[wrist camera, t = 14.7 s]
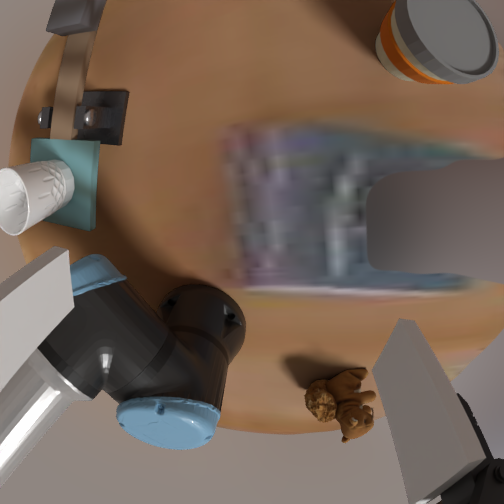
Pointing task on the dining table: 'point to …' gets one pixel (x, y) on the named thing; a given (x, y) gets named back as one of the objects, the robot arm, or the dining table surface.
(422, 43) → the reusable coffee cup
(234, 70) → the dining table surface
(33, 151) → the balance beam
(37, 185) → the white cup
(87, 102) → the beam stand
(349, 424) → the stuffed squirrel
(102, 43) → the dining table surface
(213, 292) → the robot arm
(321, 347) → the dining table surface
